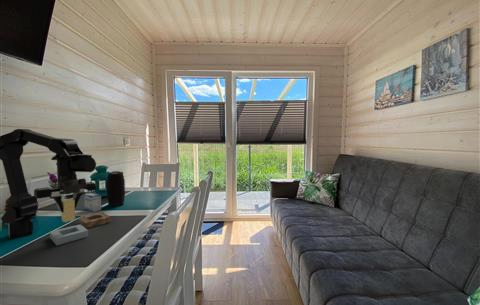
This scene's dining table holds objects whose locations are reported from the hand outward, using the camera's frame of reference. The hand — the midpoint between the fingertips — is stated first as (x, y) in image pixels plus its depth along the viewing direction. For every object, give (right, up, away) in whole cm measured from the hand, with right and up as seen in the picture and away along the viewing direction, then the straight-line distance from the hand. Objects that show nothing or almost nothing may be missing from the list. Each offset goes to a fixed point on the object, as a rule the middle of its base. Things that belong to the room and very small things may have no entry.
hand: (68, 211), depth 88 cm
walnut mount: (0, -10, +16) cm, 19 cm away
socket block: (0, -10, +1) cm, 10 cm away
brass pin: (0, -4, 0) cm, 4 cm away
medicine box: (-13, -9, +35) cm, 38 cm away
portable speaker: (-5, -8, +44) cm, 45 cm away
